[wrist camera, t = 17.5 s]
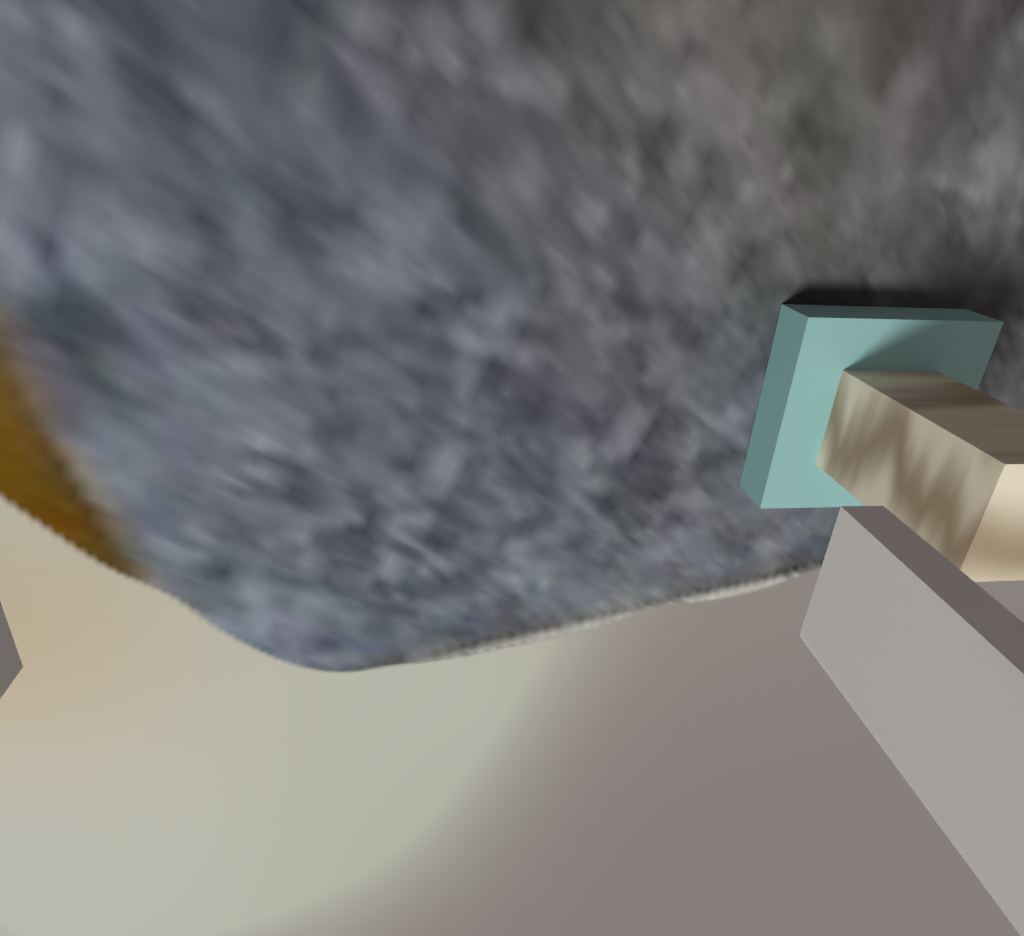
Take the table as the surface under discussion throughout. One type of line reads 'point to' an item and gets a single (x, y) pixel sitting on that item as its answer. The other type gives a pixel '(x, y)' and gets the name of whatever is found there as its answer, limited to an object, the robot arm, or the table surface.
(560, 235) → the table surface
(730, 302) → the table surface
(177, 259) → the table surface
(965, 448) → the pale wooden block
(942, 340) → the teal board
